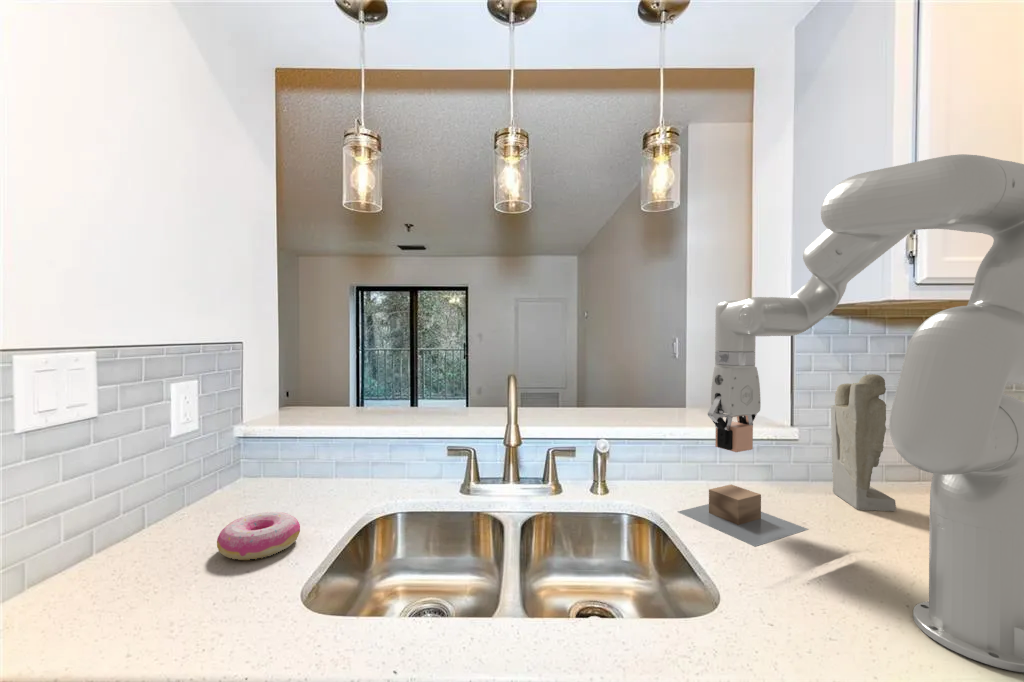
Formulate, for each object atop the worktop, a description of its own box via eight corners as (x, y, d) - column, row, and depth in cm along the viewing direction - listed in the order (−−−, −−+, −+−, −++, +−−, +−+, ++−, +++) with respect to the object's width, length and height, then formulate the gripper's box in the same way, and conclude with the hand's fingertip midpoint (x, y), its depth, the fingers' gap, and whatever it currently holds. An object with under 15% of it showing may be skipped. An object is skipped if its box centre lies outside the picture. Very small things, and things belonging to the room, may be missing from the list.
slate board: (808, 534, 88) (808, 529, 88) (755, 552, 81) (755, 546, 81) (727, 503, 104) (727, 499, 104) (677, 516, 97) (677, 511, 97)
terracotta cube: (752, 449, 94) (752, 425, 94) (736, 452, 92) (736, 427, 92) (731, 444, 98) (731, 421, 98) (715, 446, 96) (715, 423, 96)
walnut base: (760, 518, 93) (761, 494, 93) (738, 525, 90) (738, 500, 90) (731, 507, 100) (731, 484, 100) (708, 512, 97) (708, 489, 97)
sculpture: (904, 517, 96) (906, 376, 96) (861, 514, 98) (862, 375, 98) (865, 493, 111) (866, 370, 111) (828, 490, 113) (828, 370, 112)
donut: (270, 568, 76) (270, 539, 76) (197, 565, 78) (196, 536, 78) (313, 533, 90) (313, 508, 90) (250, 531, 91) (249, 506, 91)
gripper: (722, 362, 87) (721, 456, 88) (778, 359, 95) (777, 446, 95) (691, 360, 94) (690, 447, 95) (745, 358, 102) (744, 438, 102)
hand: (734, 445), depth 95 cm, fingers closed on terracotta cube, 5 cm apart
